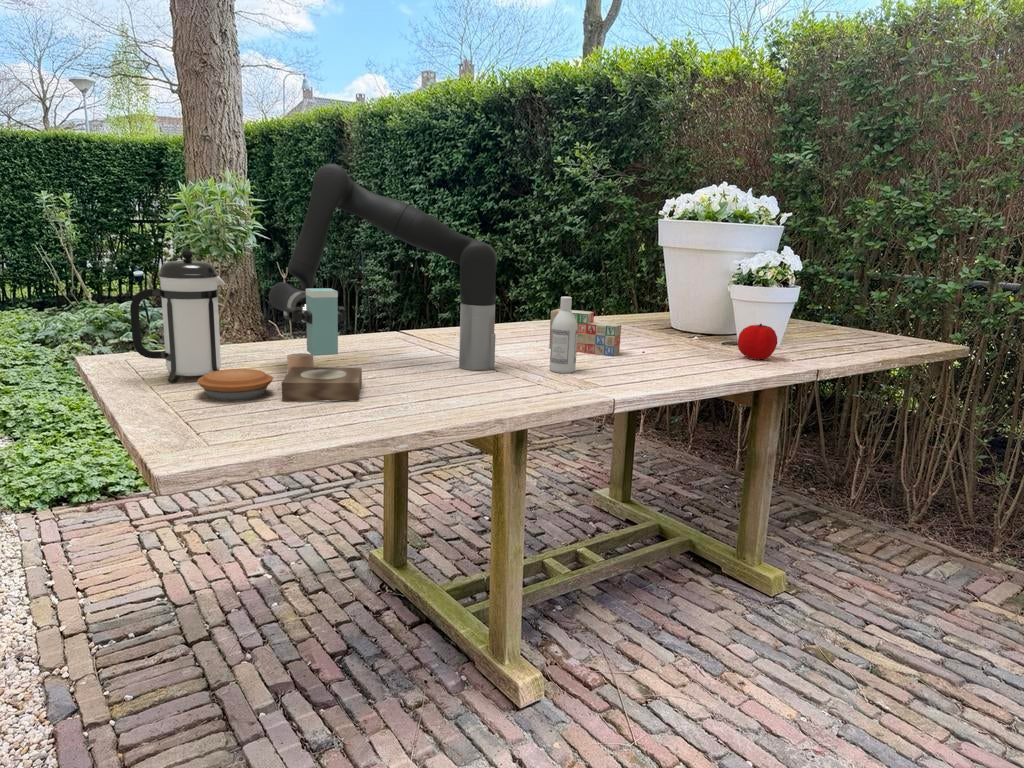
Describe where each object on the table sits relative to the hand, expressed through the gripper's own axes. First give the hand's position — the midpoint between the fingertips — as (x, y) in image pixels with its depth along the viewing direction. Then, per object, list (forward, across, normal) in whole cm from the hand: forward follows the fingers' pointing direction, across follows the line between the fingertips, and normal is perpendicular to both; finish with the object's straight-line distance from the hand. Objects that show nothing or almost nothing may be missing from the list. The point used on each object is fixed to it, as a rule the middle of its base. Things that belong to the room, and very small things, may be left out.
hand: (325, 318), depth 160 cm
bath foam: (-4, +65, +17) cm, 67 cm away
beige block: (-16, -2, +17) cm, 23 cm away
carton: (-3, 0, +8) cm, 8 cm away
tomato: (-1, +134, +16) cm, 135 cm away
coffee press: (-27, -26, +18) cm, 41 cm away
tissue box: (-2, 0, +17) cm, 17 cm away
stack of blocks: (-28, +88, +17) cm, 94 cm away
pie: (-7, -18, +18) cm, 26 cm away
